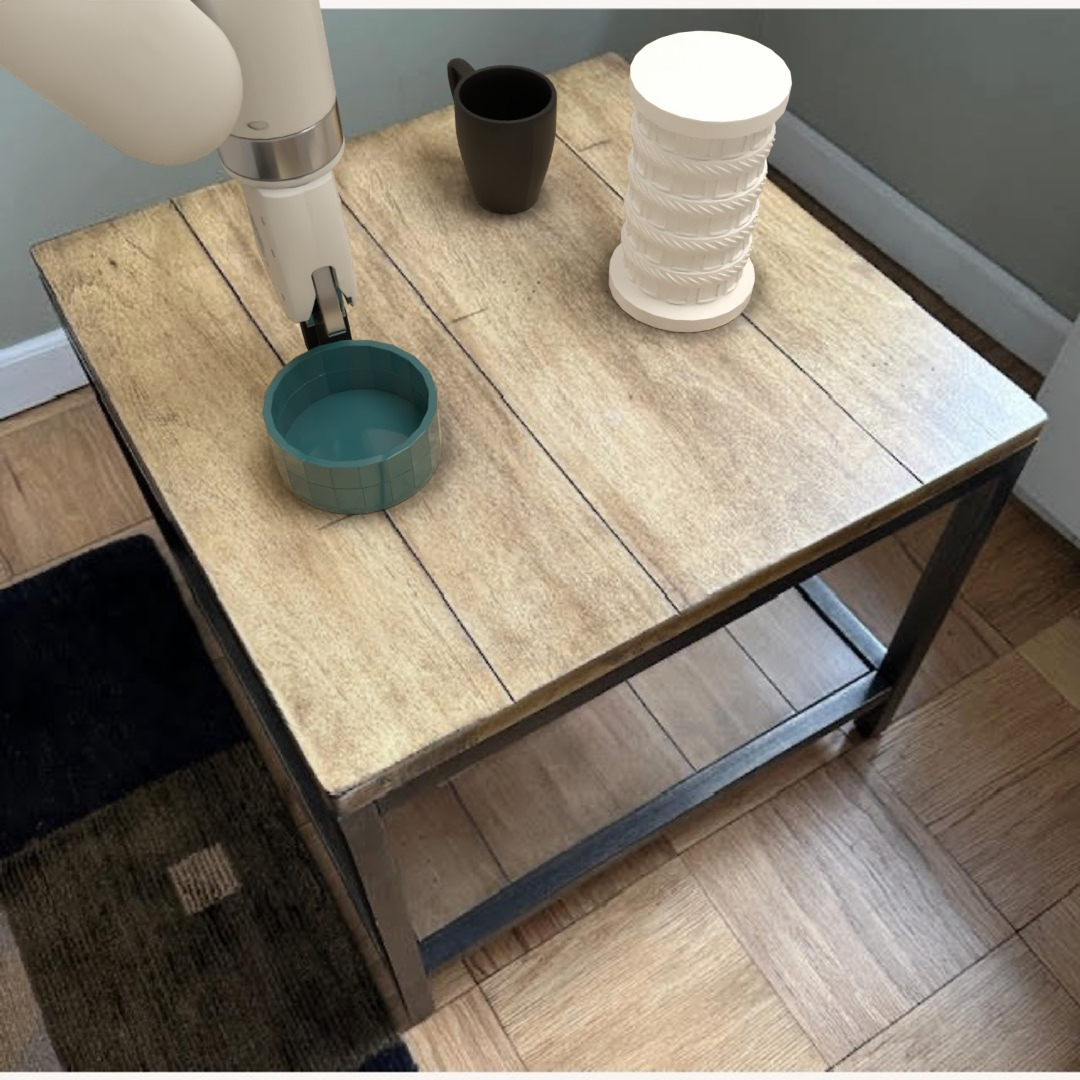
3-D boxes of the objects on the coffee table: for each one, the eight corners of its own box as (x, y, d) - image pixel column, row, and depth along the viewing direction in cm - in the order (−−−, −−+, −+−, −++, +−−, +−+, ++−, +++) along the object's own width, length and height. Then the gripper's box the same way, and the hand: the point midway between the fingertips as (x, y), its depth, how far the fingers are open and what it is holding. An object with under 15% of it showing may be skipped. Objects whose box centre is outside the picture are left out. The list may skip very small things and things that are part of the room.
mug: (499, 132, 100) (497, 32, 92) (573, 203, 94) (577, 102, 86) (420, 162, 97) (411, 61, 89) (491, 236, 91) (488, 135, 83)
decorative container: (587, 252, 90) (598, 44, 75) (715, 223, 92) (750, 16, 78) (641, 347, 84) (665, 139, 69) (777, 313, 86) (828, 105, 71)
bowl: (267, 516, 74) (252, 468, 70) (285, 390, 81) (273, 340, 77) (439, 513, 74) (434, 466, 70) (443, 388, 81) (439, 338, 77)
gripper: (187, 77, 68) (254, 298, 83) (247, 221, 60) (309, 437, 75) (303, 48, 70) (348, 271, 85) (377, 185, 62) (412, 404, 77)
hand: (330, 349), depth 80 cm, fingers closed
